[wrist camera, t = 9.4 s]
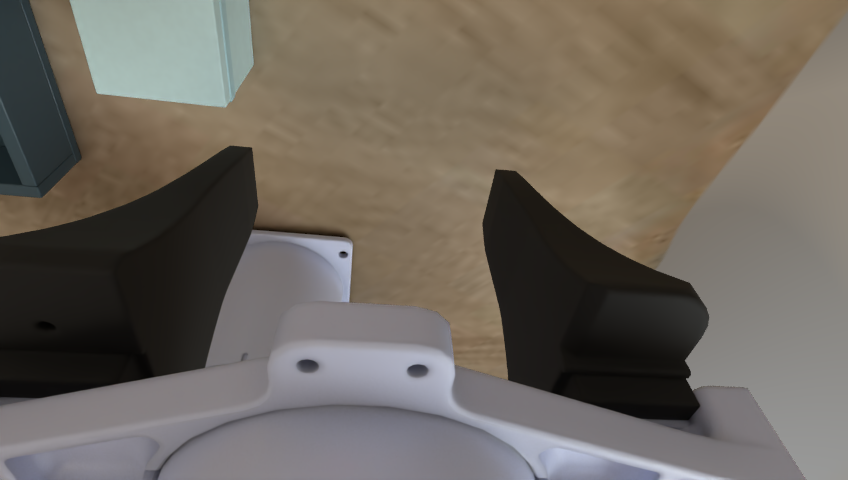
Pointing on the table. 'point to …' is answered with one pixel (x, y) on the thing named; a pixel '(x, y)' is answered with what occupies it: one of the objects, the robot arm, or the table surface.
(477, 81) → the table surface
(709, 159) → the table surface
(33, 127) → the tray
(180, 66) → the case
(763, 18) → the table surface
